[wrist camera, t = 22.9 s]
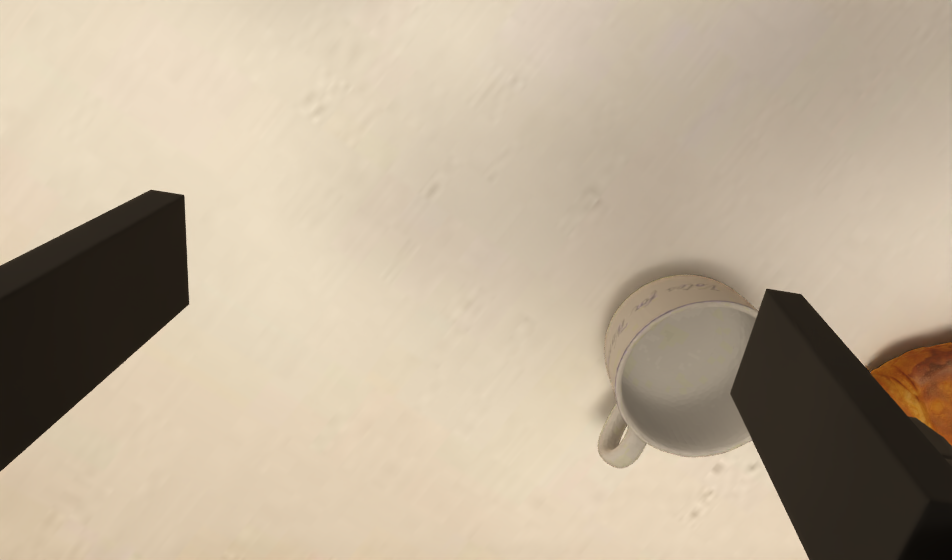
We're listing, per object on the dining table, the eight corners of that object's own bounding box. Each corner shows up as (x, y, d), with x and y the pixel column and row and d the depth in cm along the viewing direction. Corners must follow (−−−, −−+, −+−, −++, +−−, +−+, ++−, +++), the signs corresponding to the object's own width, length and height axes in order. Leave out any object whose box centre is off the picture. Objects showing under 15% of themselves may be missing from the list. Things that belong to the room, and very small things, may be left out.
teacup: (691, 228, 45) (728, 266, 37) (781, 339, 47) (833, 395, 40) (533, 349, 48) (538, 406, 41) (624, 446, 51) (645, 517, 43)
